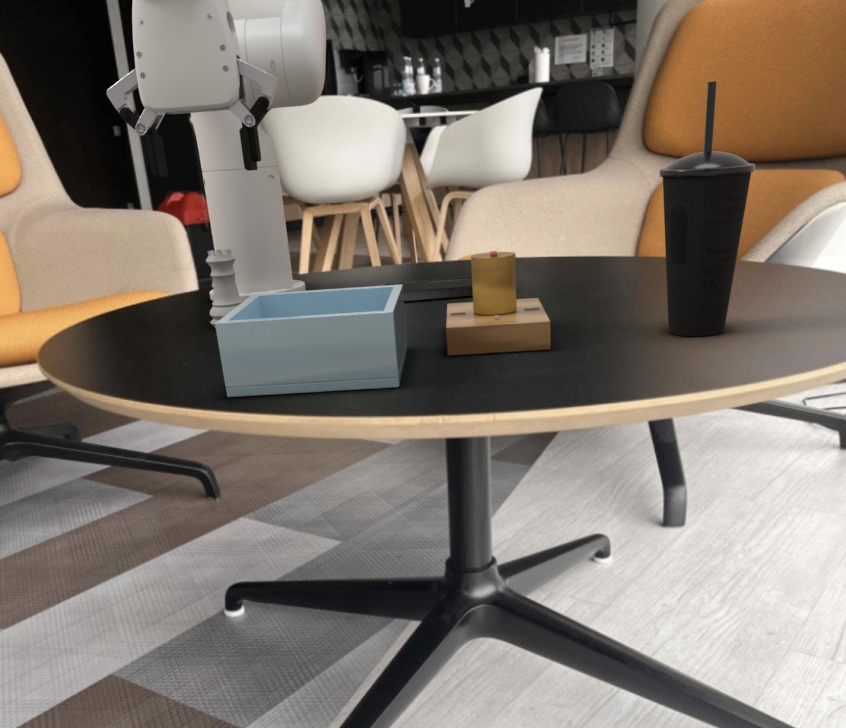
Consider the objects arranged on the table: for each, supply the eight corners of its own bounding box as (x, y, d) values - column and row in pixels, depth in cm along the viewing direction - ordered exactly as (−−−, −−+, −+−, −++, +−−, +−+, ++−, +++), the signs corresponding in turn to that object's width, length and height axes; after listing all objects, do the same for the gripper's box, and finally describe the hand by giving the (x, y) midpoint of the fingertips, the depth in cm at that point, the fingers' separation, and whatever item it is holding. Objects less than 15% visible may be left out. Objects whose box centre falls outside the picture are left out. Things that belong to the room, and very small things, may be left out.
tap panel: (448, 328, 87) (446, 301, 86) (538, 323, 87) (538, 295, 86) (447, 356, 76) (445, 325, 75) (550, 349, 76) (550, 318, 75)
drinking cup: (746, 338, 75) (769, 75, 66) (654, 341, 76) (665, 83, 68) (736, 321, 81) (755, 79, 73) (651, 323, 83) (661, 87, 75)
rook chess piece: (233, 319, 101) (222, 247, 97) (259, 322, 98) (248, 247, 95) (202, 327, 98) (189, 252, 94) (228, 330, 95) (215, 253, 92)
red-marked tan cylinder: (473, 308, 82) (470, 250, 80) (515, 305, 82) (514, 247, 80) (473, 316, 79) (471, 255, 77) (518, 313, 79) (516, 252, 76)
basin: (261, 358, 81) (252, 294, 78) (407, 349, 80) (402, 284, 78) (227, 397, 69) (214, 323, 66) (399, 387, 68) (392, 311, 65)
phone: (511, 282, 104) (385, 292, 103) (511, 292, 104) (386, 302, 103) (500, 273, 111) (382, 283, 110) (500, 283, 111) (383, 292, 110)
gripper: (271, -20, 87) (294, 167, 94) (102, -5, 88) (137, 178, 95) (256, -34, 80) (281, 168, 87) (73, -18, 81) (112, 181, 88)
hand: (206, 173), depth 91 cm, fingers open, 9 cm apart
